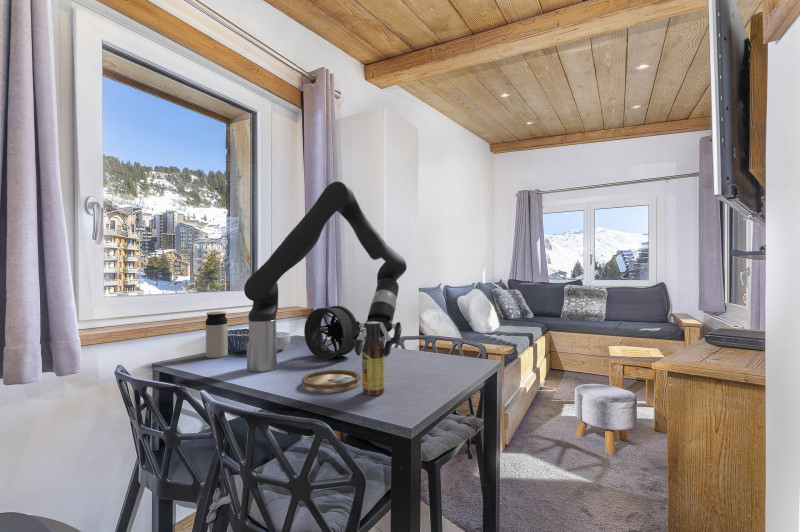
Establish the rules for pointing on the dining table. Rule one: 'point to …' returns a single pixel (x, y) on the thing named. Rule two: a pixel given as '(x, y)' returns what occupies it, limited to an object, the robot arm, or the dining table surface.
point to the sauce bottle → (373, 361)
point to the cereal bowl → (282, 339)
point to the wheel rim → (330, 332)
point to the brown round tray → (331, 381)
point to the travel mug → (216, 334)
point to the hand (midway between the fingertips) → (371, 354)
